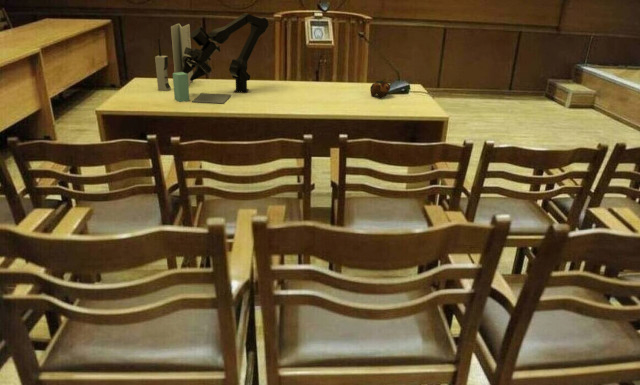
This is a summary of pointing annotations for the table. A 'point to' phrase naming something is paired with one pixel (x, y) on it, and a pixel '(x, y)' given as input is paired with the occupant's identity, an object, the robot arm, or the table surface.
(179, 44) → the brochure
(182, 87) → the teal block
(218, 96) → the rubber mat
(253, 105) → the table surface
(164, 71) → the vintage mobile phone
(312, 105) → the table surface
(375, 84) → the decorative turtle
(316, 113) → the table surface
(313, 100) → the table surface
